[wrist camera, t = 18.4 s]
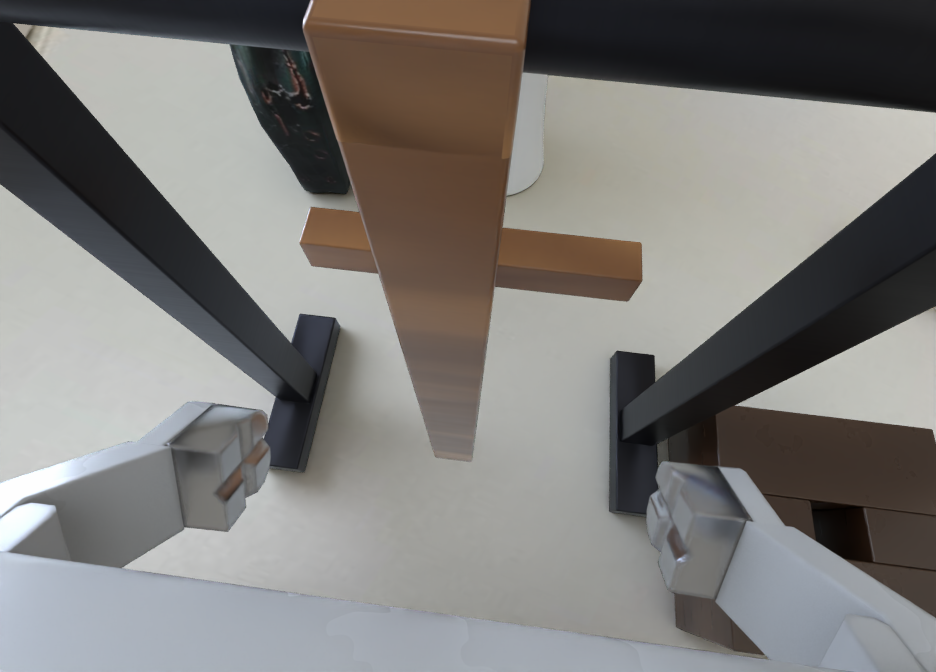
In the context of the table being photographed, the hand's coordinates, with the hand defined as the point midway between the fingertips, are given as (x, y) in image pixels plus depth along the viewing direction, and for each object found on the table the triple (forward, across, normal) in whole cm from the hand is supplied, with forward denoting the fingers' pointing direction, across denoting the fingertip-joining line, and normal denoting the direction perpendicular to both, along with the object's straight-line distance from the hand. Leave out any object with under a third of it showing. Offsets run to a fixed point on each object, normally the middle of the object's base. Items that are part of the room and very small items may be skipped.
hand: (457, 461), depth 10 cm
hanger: (+10, +1, +2) cm, 10 cm away
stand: (+11, -14, +10) cm, 21 cm away
